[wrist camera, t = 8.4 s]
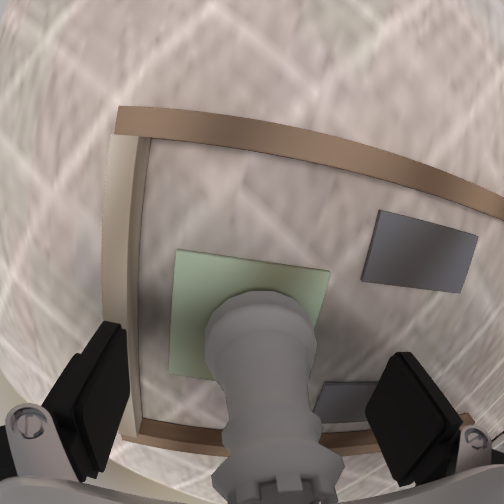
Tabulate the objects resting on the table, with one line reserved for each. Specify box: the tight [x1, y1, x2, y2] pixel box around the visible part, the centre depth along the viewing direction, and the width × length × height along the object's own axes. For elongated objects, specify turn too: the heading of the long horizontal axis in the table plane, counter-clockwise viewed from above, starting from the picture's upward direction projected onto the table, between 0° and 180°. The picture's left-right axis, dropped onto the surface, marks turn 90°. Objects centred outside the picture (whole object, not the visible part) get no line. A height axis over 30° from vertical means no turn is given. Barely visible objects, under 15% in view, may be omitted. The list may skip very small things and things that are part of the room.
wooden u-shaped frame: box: [102, 106, 504, 457], centre depth 13 cm, size 24×16×2 cm, turn 80°
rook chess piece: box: [204, 291, 345, 504], centre depth 9 cm, size 4×4×8 cm
